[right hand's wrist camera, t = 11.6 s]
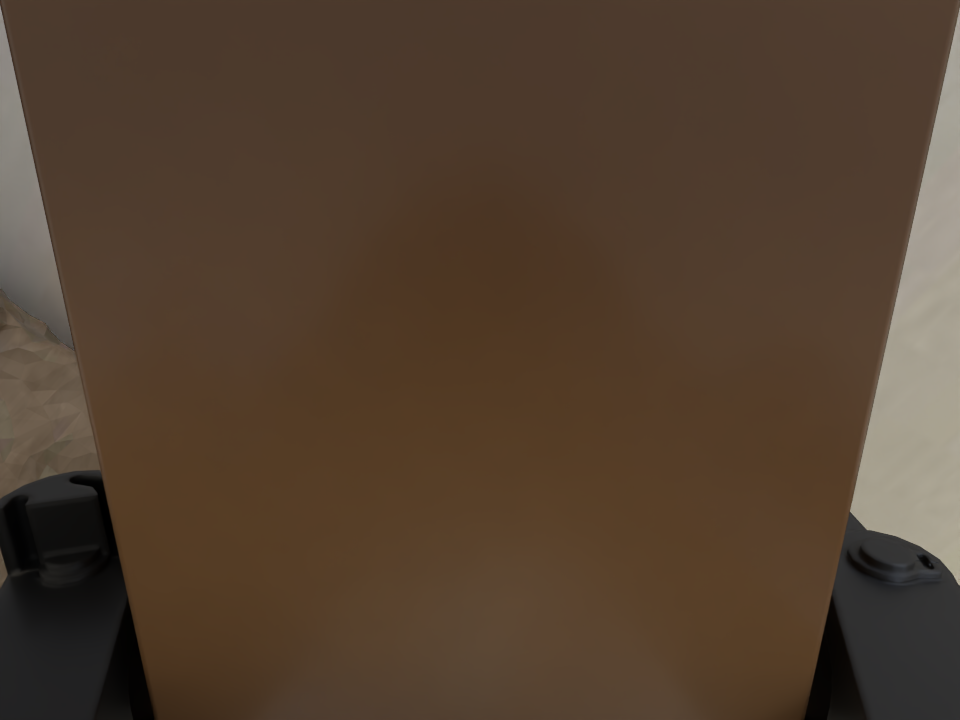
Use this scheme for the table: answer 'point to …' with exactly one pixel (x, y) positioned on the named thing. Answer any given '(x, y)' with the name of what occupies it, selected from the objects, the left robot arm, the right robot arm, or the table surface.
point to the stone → (39, 405)
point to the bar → (479, 336)
